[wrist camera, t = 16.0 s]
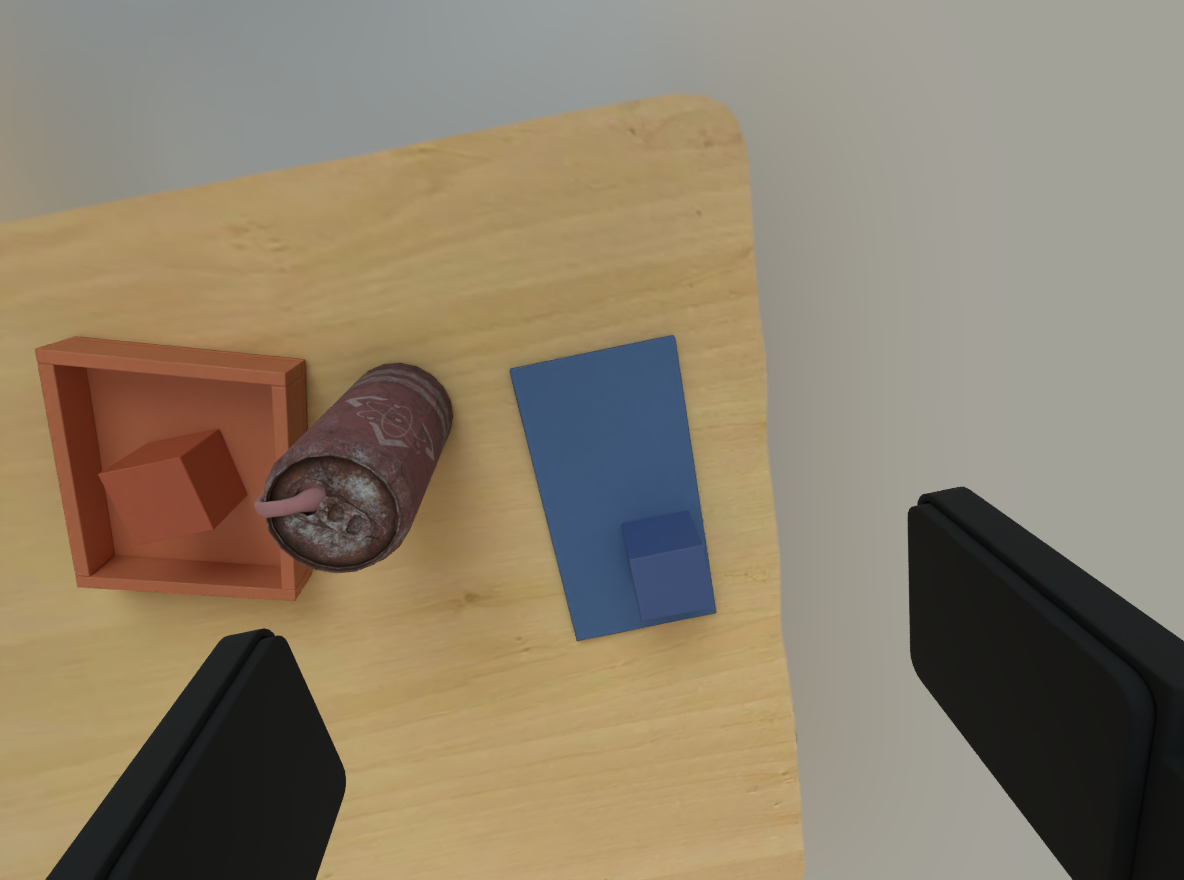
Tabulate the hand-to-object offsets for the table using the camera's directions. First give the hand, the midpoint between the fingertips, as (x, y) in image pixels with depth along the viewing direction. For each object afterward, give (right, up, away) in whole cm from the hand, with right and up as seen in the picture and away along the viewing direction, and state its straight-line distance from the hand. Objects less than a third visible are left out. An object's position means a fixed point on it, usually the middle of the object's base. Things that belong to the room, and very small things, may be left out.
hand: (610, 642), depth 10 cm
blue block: (+4, -4, +34) cm, 34 cm away
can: (-12, +5, +30) cm, 33 cm away
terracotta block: (-24, +1, +30) cm, 38 cm away
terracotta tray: (-24, +1, +30) cm, 39 cm away
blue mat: (+2, -1, +33) cm, 33 cm away
